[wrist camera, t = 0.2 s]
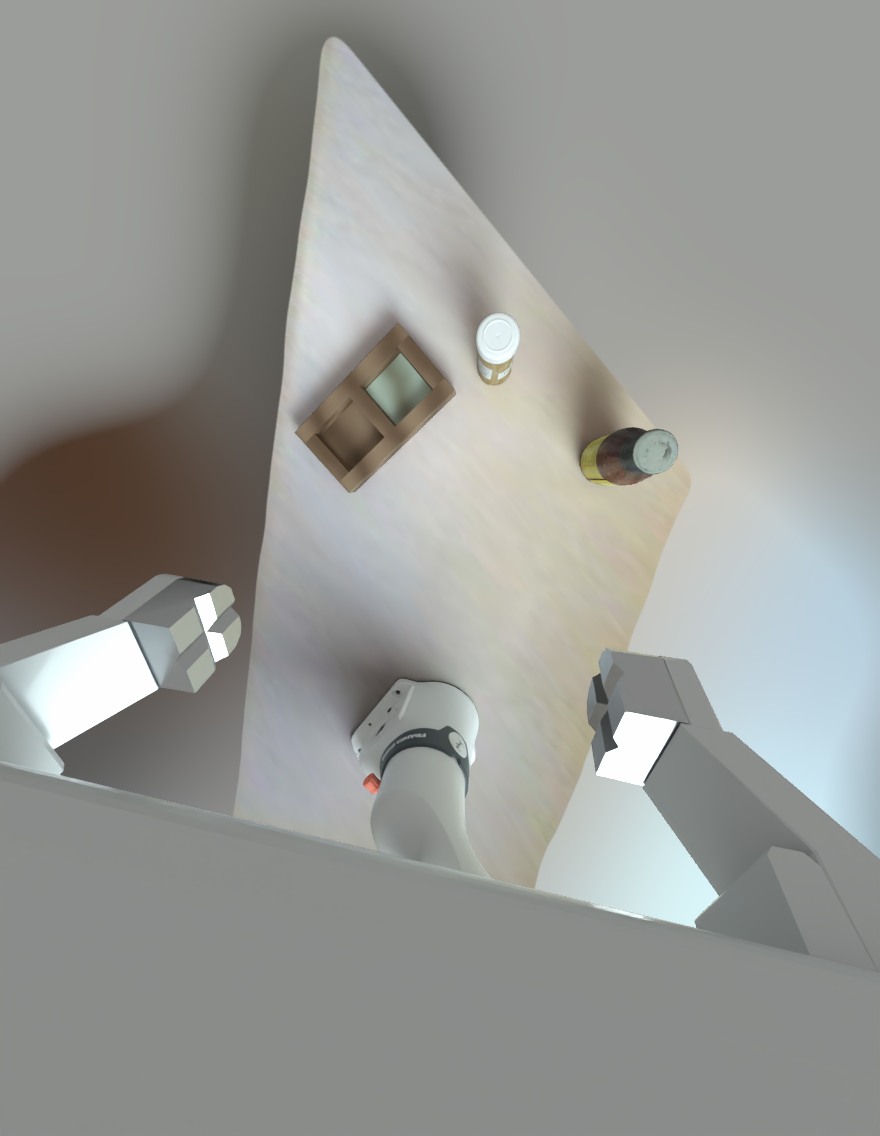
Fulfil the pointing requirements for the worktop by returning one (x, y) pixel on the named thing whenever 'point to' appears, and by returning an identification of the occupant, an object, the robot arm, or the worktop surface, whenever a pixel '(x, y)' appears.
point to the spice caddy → (375, 410)
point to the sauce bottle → (628, 456)
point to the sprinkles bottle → (496, 347)
